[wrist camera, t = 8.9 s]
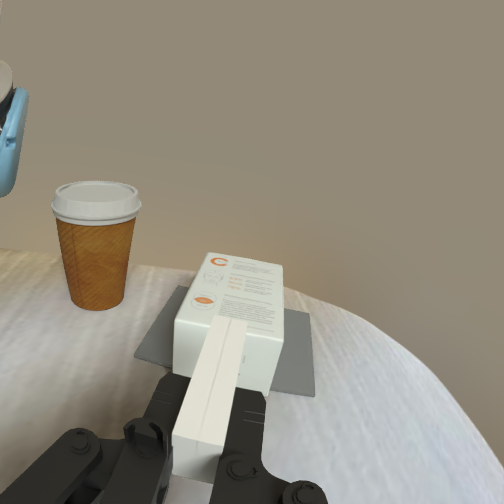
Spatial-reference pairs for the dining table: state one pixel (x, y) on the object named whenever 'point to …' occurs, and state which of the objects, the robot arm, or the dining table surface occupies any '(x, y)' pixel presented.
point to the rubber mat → (289, 363)
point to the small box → (234, 316)
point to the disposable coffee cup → (96, 239)
